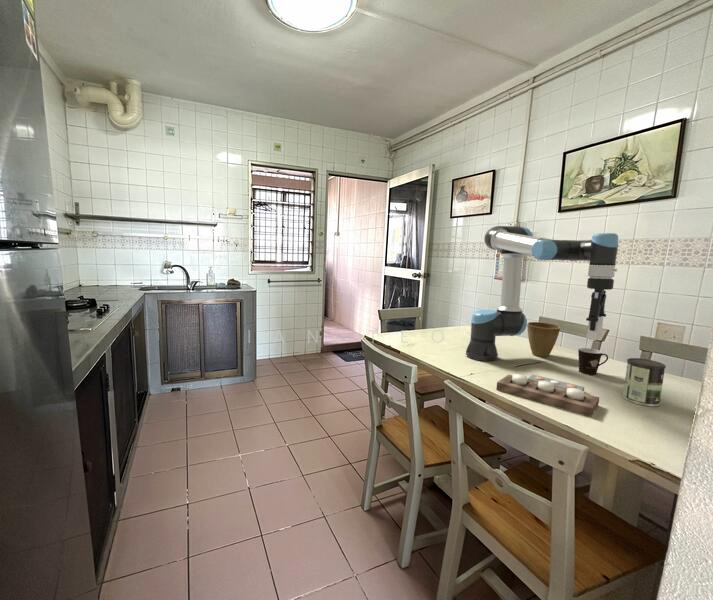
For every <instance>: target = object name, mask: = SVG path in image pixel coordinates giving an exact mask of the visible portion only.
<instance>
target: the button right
mask: <svg viewBox="0 0 713 600" xmlns="http://www.w3.org/2000/svg"><path fill="white" fill-rule="evenodd" d="M584 394H585V390H584V391H582V390H580V389H577V388H567V393H566V397H568V398H569V399H573V400H577V401H582V400H584Z"/></svg>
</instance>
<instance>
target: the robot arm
mask: <svg viewBox="0 0 713 600" xmlns="http://www.w3.org/2000/svg"><path fill="white" fill-rule="evenodd" d="M483 241H484V243H485V245H486V247H488V249H490V250H494V251H500V256H502V257H503V261H502V262H503V264H502V265H503V266H502V278H501V280H502V281H501V294H500V304H499V306H498V307H497V308H496V310H495V309H479V310H476V311H474V312H473V313H472V316H471V320H470V321H471V325H470V327H471V328H470V339H469V343H468V346H467V348H466V350H465V356H466V355H467V356H468V357H467V356H466V357H467V358H469V357H470V358H469V359H471V358H473V359H472V360H475V359H477V360H476V361H480V360H483V362H495V361H497V360H498V359H499V353H498V349H497V345H496V339H497V338H496V337H509V336H510V337H515V336H520V335H522V333H524V332H525V330H526V329H527V323H528V319H527V318H526V315H525V314H524V313H523V309H522V308H521V307H520V301H521V287H522V273H523V263H524V262H523V261H524V257H526V256H531V257H534V259H536V260H538V261H539V260H540V261H570V262H579V261H580V262H583V261H588V262H589V263H588V264H589V265H588V272H587V273H588V274H587V277H588V278H587V282H586V283H587V284H586V287H587V289H589V290H590V289H591V290H594V291H592V293H591V297H590V298H591V300H590V306H589V307H590V308H589V314H588V317H586V319H585V320H586V321H587V322H588V326H587V335H586V340H590V341H597V338H598V335H602V333H603V326H604V325H603V324H604V318H606V317H607V313H605V312H606V311H605V308H606V307H605V306H606V305H605V304H606V299H607V294H606V293H607V291H608V290H609V291H610V290H614V289H613V288H614V283H615V280H614V279H613V278H614V277H615V272H618V268H616V266H617V265H616V264H617V263H616V262H617V255H618V248H619V235H618V234H617V233H615V232H612V233H611V232H605V233H604V232H603V233H595V234H594V233H593V235H592V236H591V239H588V240H587V239H586V240H570V239H550V238H545V237H539V236H534V235H533V232H532V231H531V230H530V229H529V228H527V227H525V226H519V225H517V226H516V225H514V226H509V225H508V226H506V225H496V226H493V227H491V228H490V229H488V230H487V231H486V233H485V235H484V239H483ZM606 290H607V291H606ZM494 360H495V361H494Z"/></svg>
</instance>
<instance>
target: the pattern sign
mask: <svg viewBox="0 0 713 600" xmlns="http://www.w3.org/2000/svg"><path fill="white" fill-rule="evenodd" d="M527 379H529V380H533V381H537V382H538V381H548V382H552V383H553V384H554V386H556V387H560V388H564V389H567V388H577V389H580V390H582V391H584V392H585V386H582V385H579V384H574V383H570V382H566V381H562V380H558V379H553V378H549V377H545V376H540V375H537V374H531V375H530V376H529V377H527Z"/></svg>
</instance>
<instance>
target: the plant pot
mask: <svg viewBox="0 0 713 600" xmlns="http://www.w3.org/2000/svg"><path fill="white" fill-rule="evenodd" d="M526 329H527V336H528V342H529V343H528V344H529V348H530V350H531V354H532V355H533V356H535V357H539V356H540V357H539V358H549V356H550V354H551V352H552V351H553V349H554V346H555V345H556V342H557V340H558V337H559V334H560V330H561V326H560V325H557V324H554V323H548V322H540V321H539V322H538V321H530V322H527V326H526Z"/></svg>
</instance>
